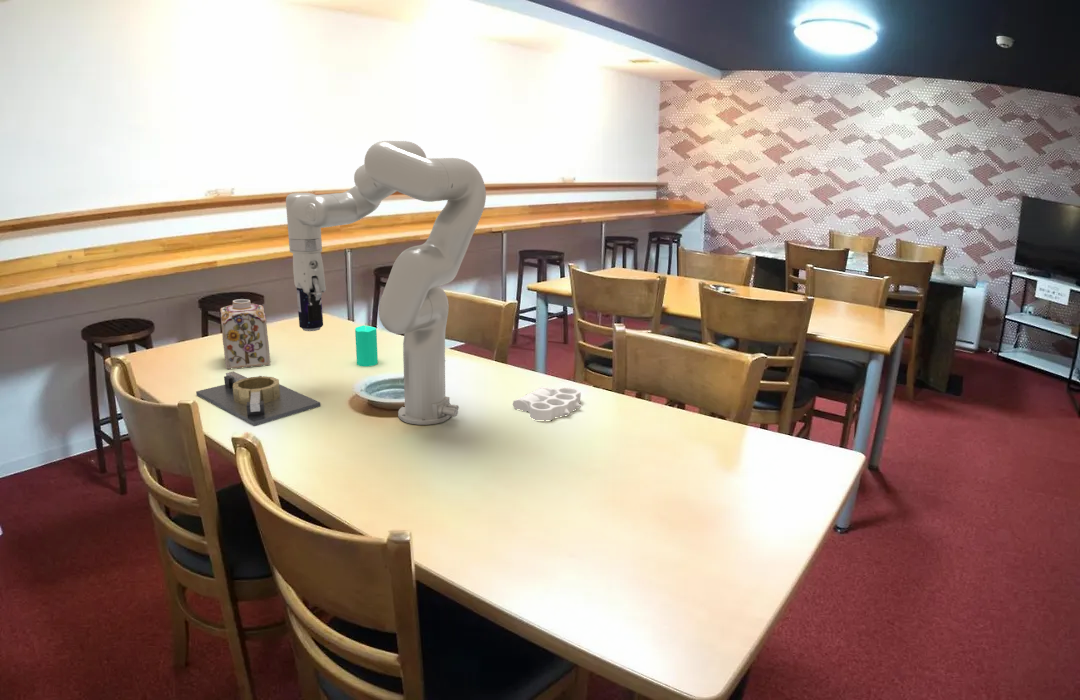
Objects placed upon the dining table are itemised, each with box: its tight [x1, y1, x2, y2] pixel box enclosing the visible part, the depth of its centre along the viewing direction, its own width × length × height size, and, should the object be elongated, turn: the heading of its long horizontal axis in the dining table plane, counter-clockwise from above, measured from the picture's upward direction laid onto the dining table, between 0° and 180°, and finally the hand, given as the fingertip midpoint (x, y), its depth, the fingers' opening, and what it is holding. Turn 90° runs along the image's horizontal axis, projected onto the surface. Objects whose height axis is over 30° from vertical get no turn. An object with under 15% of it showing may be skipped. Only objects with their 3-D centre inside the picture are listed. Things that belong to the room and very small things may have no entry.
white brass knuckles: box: [512, 386, 583, 421], centre depth 172 cm, size 3×18×15 cm
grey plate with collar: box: [195, 370, 322, 427], centre depth 171 cm, size 28×17×4 cm, turn 50°
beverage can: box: [296, 283, 324, 332], centre depth 174 cm, size 6×6×12 cm
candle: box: [354, 322, 379, 368], centre depth 201 cm, size 6×6×12 cm
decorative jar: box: [219, 298, 271, 370], centre depth 198 cm, size 12×12×18 cm
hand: (310, 317), depth 175 cm, fingers closed on beverage can, 5 cm apart
